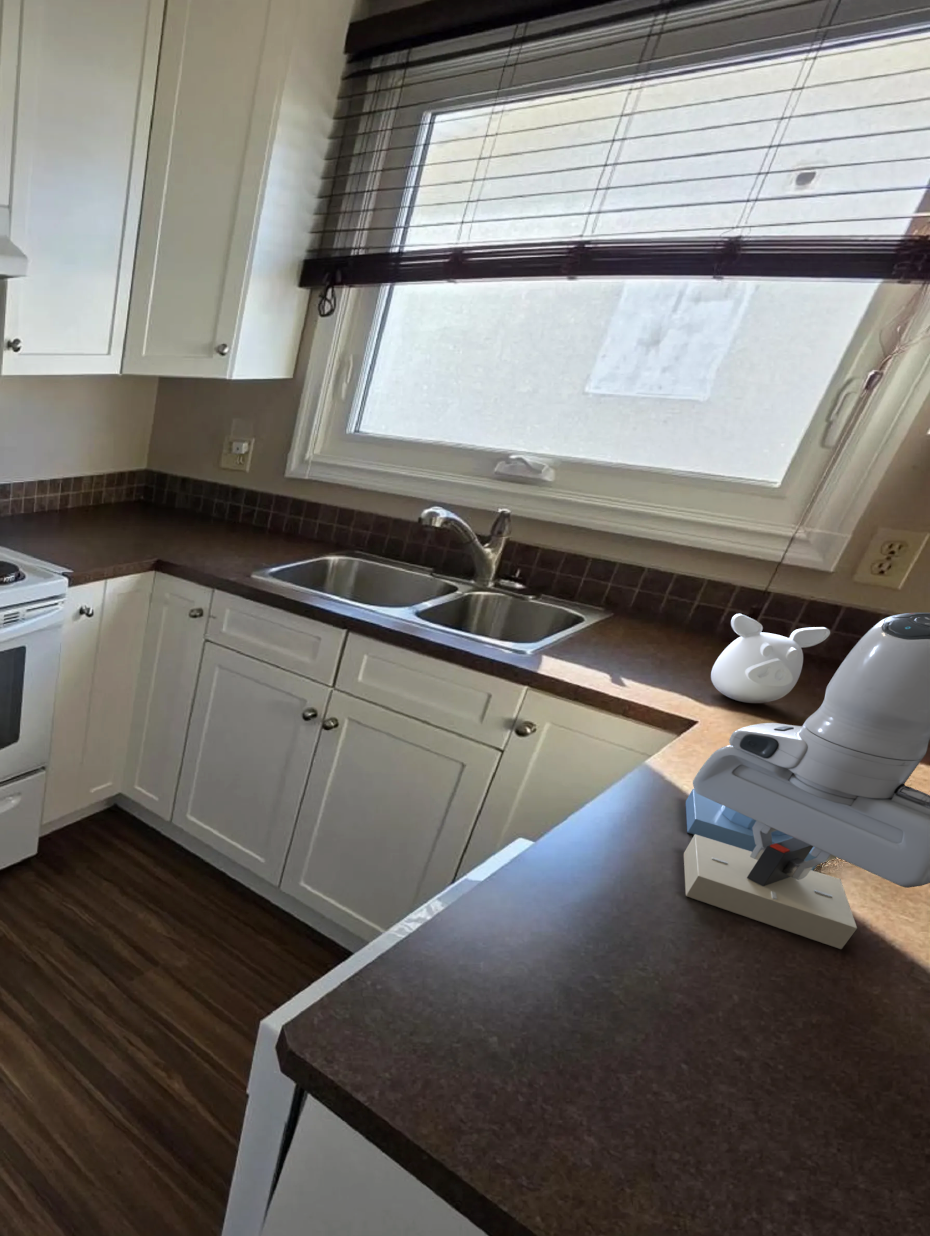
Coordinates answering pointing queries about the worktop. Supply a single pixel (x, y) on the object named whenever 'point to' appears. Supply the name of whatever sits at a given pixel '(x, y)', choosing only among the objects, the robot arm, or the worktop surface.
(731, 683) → the piggy bank
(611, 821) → the worktop surface
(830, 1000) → the worktop surface
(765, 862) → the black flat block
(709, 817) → the button housing
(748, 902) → the box
